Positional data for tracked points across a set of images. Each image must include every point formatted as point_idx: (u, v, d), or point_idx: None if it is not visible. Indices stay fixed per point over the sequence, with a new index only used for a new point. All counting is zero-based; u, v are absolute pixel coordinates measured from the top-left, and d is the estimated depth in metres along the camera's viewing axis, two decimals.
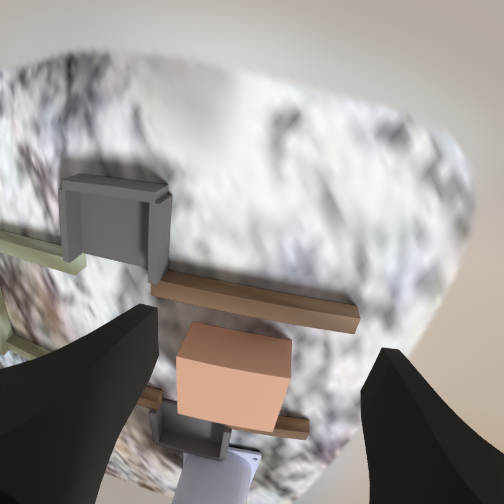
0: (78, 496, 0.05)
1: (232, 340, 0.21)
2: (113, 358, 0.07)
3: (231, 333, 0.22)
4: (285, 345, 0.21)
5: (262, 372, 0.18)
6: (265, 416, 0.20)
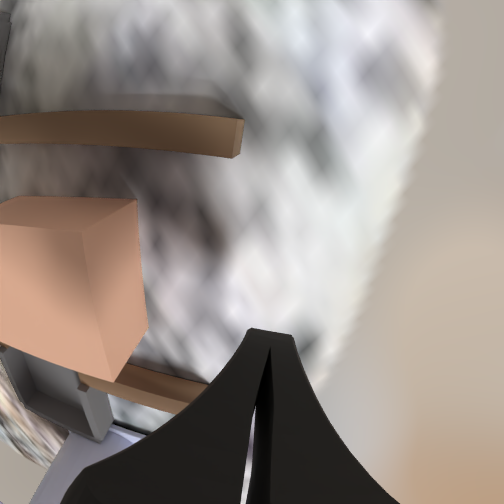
0: None
1: (44, 203, 0.11)
2: (257, 394, 0.07)
3: (52, 199, 0.12)
4: (118, 203, 0.11)
5: (43, 226, 0.09)
6: (84, 341, 0.10)
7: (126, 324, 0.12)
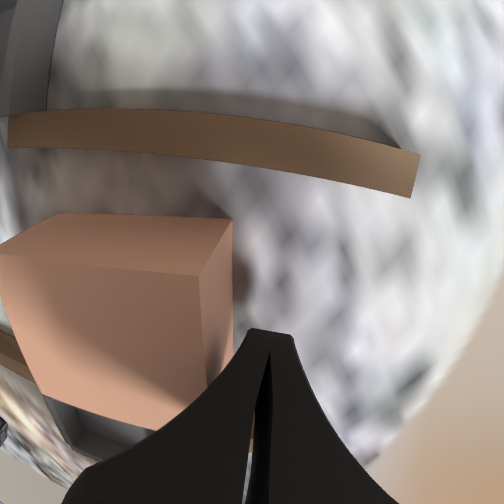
0: None
1: (102, 226, 0.09)
2: (257, 394, 0.07)
3: (108, 219, 0.10)
4: (212, 226, 0.09)
5: (127, 266, 0.07)
6: (180, 402, 0.08)
7: None
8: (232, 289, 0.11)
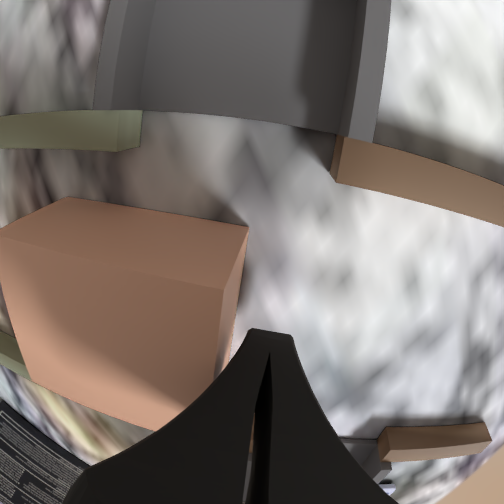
0: None
1: (115, 219, 0.09)
2: (258, 394, 0.07)
3: (121, 211, 0.10)
4: (230, 234, 0.09)
5: (148, 270, 0.07)
6: (181, 406, 0.08)
7: None
8: (238, 296, 0.11)
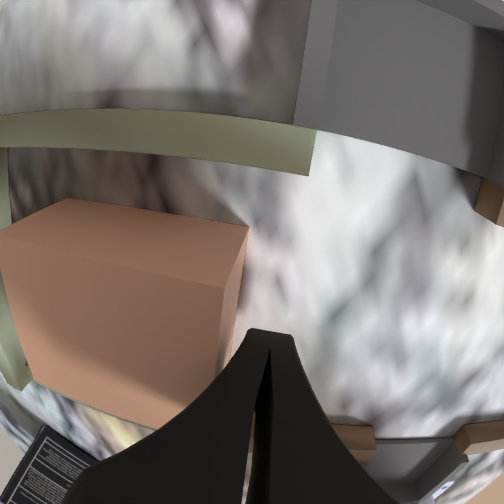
0: None
1: (117, 219, 0.09)
2: (257, 394, 0.07)
3: (122, 211, 0.10)
4: (230, 232, 0.10)
5: (149, 268, 0.07)
6: (183, 404, 0.08)
7: None
8: None
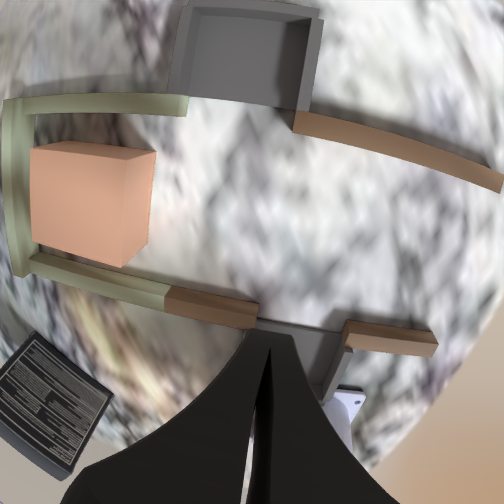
0: None
1: (92, 146, 0.17)
2: (257, 394, 0.07)
3: (96, 144, 0.18)
4: (144, 151, 0.17)
5: (99, 155, 0.15)
6: (108, 234, 0.16)
7: (136, 232, 0.18)
8: None
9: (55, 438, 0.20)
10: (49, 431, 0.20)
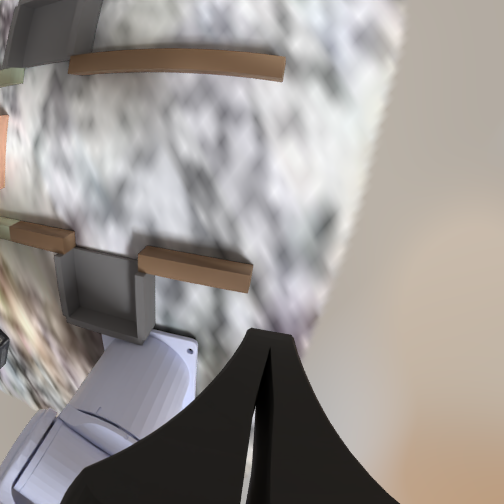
0: None
1: None
2: (257, 394, 0.07)
3: None
4: None
5: None
6: None
7: None
8: None
9: None
10: None
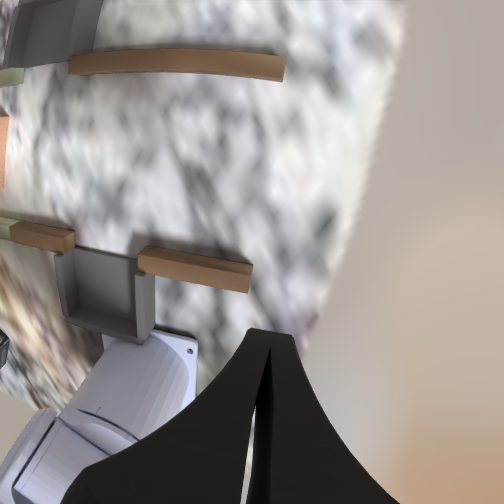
0: None
1: None
2: (257, 394, 0.07)
3: None
4: (0, 116, 0.17)
5: None
6: None
7: None
8: None
9: None
10: None
